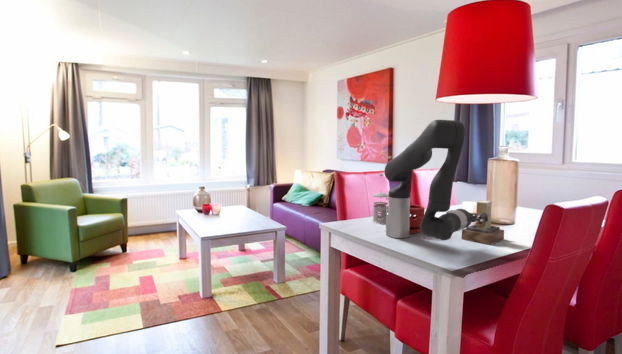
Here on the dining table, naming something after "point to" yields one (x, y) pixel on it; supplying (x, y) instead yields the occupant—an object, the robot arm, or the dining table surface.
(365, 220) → the dining table surface
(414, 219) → the plant pot
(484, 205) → the skincare box
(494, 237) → the walnut stand
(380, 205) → the french press
